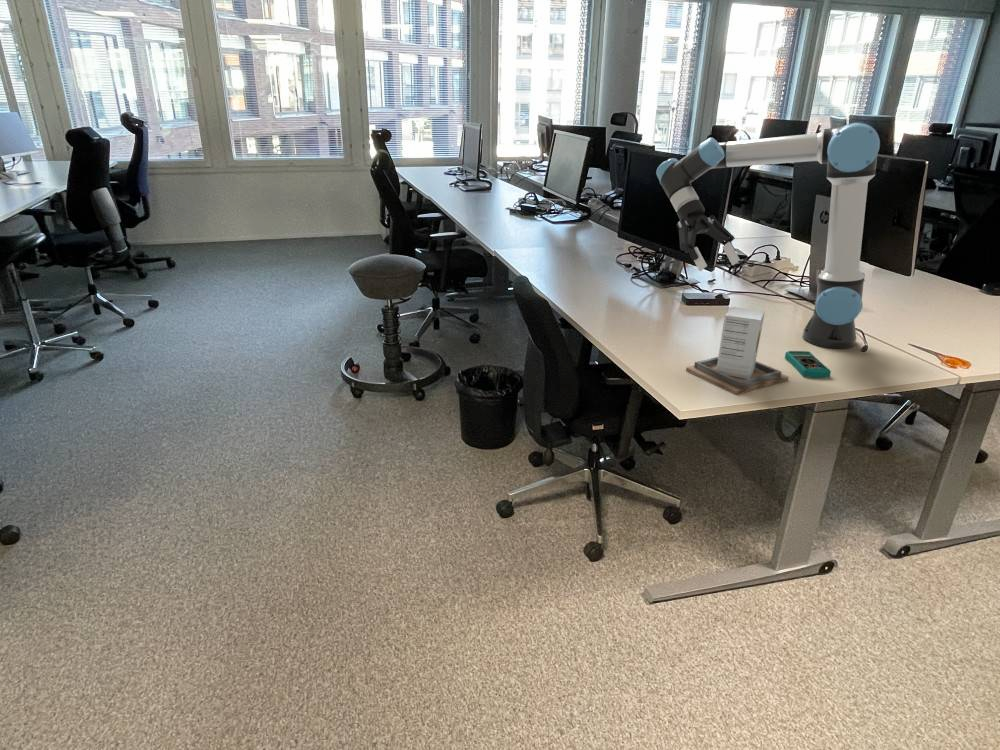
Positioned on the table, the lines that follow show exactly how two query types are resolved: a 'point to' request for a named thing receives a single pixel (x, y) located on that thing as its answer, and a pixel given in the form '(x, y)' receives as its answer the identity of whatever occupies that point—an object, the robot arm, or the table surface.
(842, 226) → the robot arm
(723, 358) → the supplement box
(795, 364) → the digital multimeter
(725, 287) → the table surface
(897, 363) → the table surface
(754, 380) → the carrier plate
